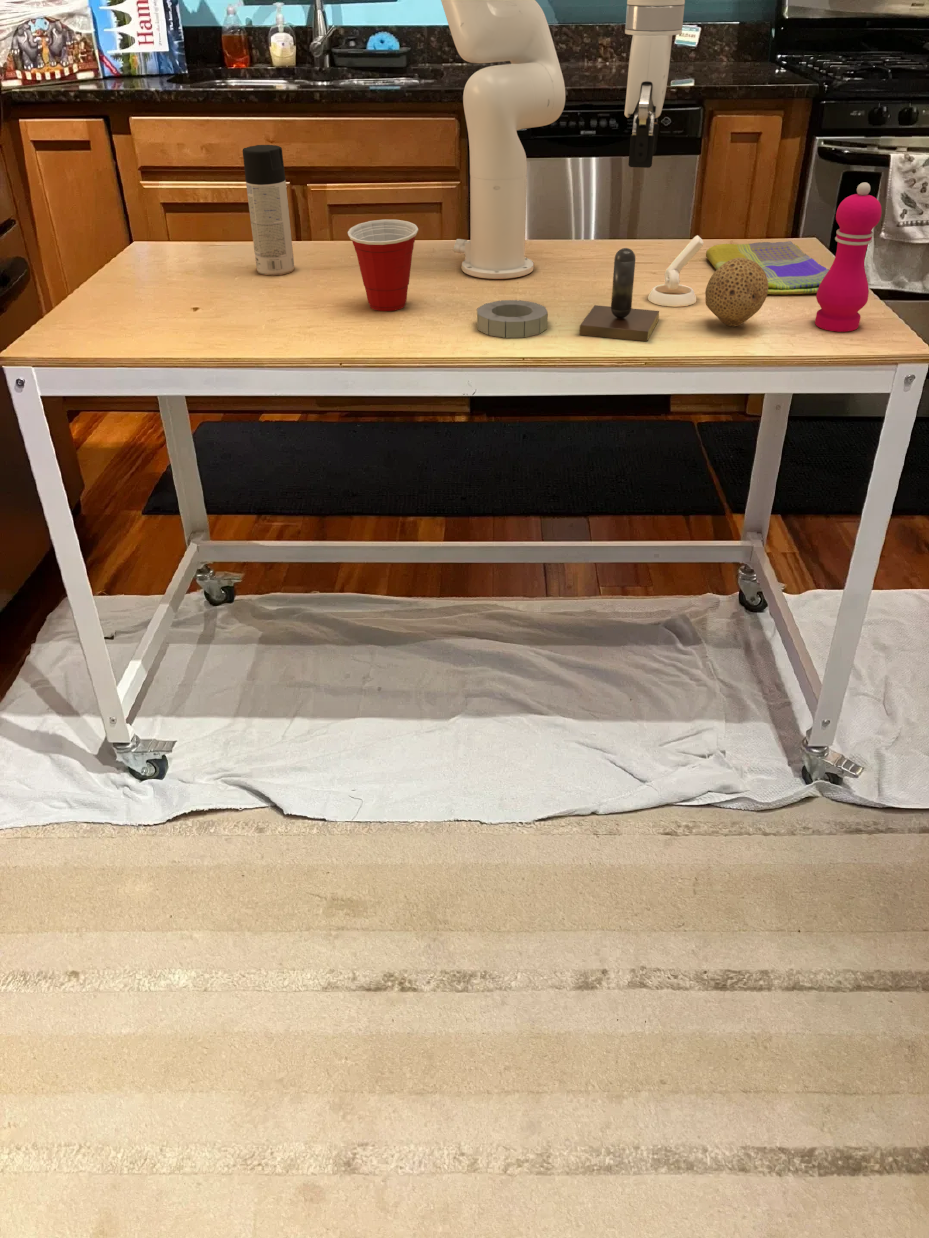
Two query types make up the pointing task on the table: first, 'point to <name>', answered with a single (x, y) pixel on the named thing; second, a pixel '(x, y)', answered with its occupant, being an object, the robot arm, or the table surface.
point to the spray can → (268, 209)
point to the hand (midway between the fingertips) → (642, 160)
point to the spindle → (621, 307)
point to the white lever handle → (676, 280)
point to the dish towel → (775, 265)
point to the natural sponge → (736, 291)
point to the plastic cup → (385, 260)
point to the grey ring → (512, 318)
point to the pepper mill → (848, 263)
